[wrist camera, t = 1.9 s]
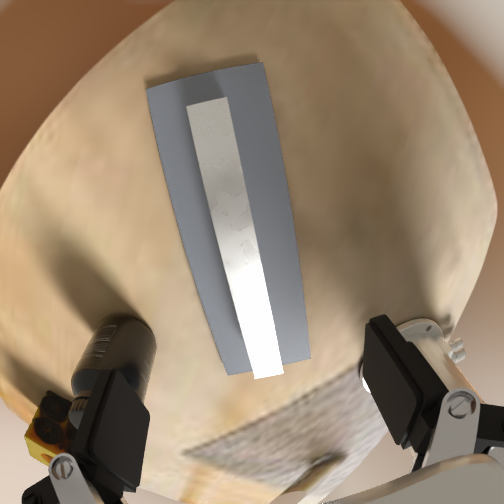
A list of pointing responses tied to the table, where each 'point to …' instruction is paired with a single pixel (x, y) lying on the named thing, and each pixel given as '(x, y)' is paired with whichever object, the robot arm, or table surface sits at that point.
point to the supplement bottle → (114, 359)
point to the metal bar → (235, 230)
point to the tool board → (260, 200)
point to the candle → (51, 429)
